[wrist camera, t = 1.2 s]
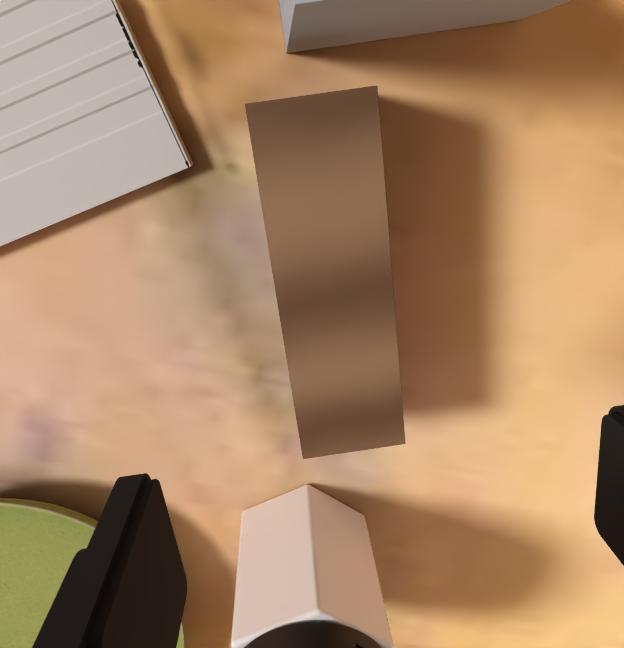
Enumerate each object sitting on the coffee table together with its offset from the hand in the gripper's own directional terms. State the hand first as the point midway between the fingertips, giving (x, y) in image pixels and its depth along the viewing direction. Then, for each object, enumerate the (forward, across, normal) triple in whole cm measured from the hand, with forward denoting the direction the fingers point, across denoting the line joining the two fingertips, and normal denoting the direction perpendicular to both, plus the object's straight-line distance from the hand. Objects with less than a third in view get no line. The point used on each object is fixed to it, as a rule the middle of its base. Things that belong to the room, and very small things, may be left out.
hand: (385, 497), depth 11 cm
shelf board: (+19, 0, 0) cm, 19 cm away
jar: (+19, +3, +18) cm, 26 cm away
